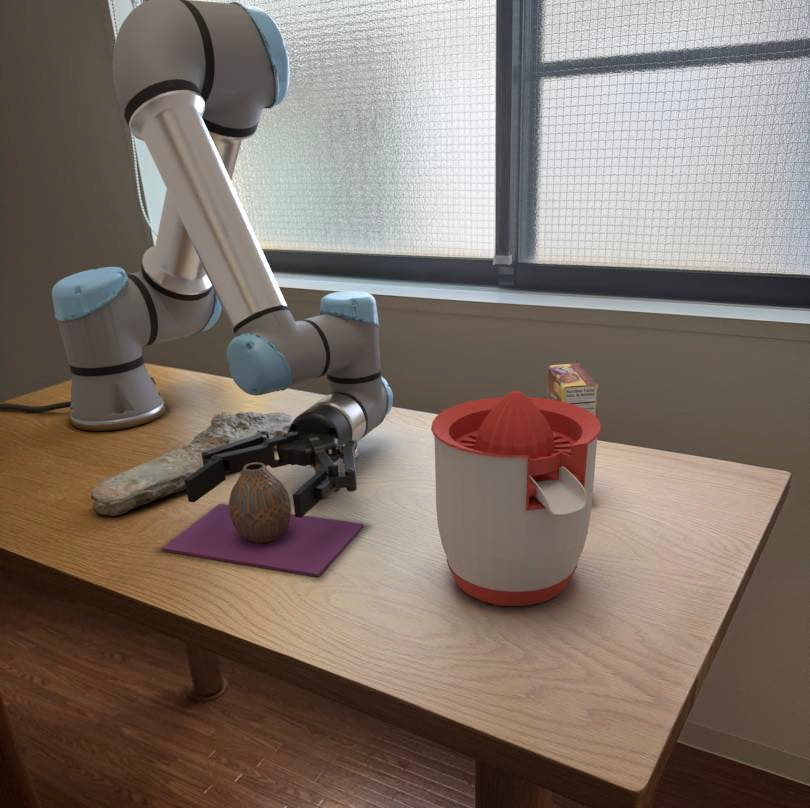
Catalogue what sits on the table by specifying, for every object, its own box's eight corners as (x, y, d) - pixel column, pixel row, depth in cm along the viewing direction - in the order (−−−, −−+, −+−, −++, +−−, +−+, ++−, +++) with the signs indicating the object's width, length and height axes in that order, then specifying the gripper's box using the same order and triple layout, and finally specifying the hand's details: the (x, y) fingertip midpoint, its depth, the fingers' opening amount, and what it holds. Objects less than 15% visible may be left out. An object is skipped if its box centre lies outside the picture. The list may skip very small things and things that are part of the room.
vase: (271, 516, 93) (261, 449, 89) (306, 534, 89) (297, 464, 85) (222, 537, 89) (210, 467, 85) (256, 556, 85) (245, 484, 80)
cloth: (162, 551, 88) (161, 548, 87) (220, 506, 97) (219, 503, 97) (318, 577, 81) (318, 574, 81) (363, 526, 91) (363, 523, 91)
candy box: (542, 478, 101) (547, 363, 93) (574, 476, 101) (582, 362, 93) (556, 508, 93) (563, 385, 86) (591, 506, 93) (601, 383, 86)
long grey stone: (77, 516, 100) (125, 538, 95) (66, 480, 97) (115, 501, 92) (265, 421, 123) (312, 435, 118) (261, 390, 120) (309, 403, 115)
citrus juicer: (489, 648, 69) (492, 439, 59) (411, 562, 83) (403, 382, 73) (631, 604, 74) (655, 405, 64) (535, 530, 88) (542, 358, 78)
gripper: (416, 467, 98) (348, 544, 81) (248, 448, 106) (154, 514, 89) (414, 411, 95) (342, 479, 77) (241, 396, 103) (140, 455, 86)
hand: (241, 498), depth 83 cm, fingers open, 13 cm apart
